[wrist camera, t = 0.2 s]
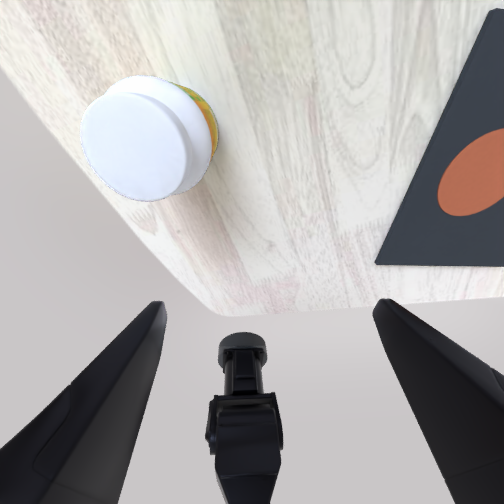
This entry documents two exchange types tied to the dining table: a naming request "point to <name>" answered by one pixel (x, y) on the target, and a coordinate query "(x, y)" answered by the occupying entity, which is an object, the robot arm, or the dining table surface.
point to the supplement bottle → (149, 138)
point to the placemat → (460, 172)
